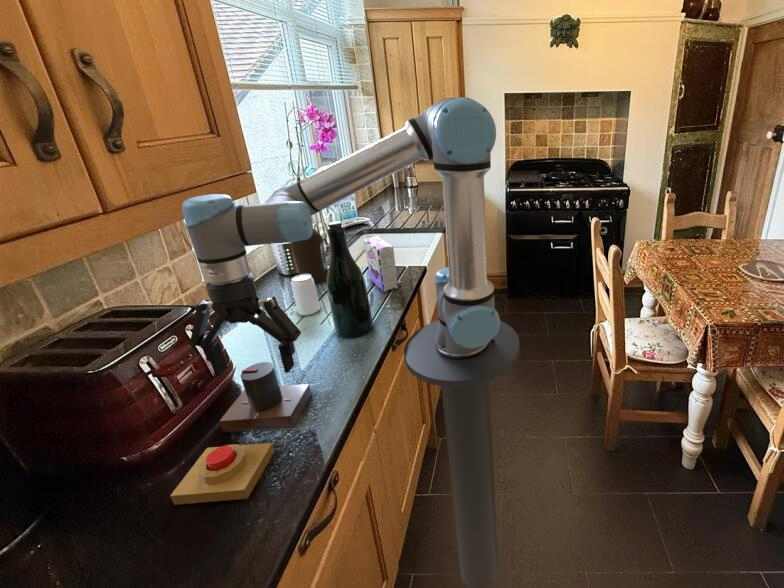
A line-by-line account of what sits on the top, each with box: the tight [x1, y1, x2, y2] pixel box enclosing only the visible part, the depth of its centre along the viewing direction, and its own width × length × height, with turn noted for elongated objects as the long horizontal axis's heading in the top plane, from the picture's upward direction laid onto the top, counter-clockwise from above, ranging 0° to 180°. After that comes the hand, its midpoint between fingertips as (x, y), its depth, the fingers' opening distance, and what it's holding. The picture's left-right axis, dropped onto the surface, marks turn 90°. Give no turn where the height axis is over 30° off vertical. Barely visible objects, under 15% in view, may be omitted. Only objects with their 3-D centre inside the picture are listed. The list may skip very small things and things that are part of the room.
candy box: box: [363, 235, 399, 293], centre depth 145 cm, size 14×6×16 cm, turn 37°
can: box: [290, 273, 321, 317], centre depth 128 cm, size 6×6×12 cm
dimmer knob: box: [240, 361, 282, 411], centre depth 85 cm, size 6×6×8 cm
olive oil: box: [290, 228, 329, 285], centre depth 148 cm, size 11×11×25 cm
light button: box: [206, 444, 236, 471], centre depth 71 cm, size 4×4×2 cm
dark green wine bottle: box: [326, 220, 374, 339], centre depth 113 cm, size 10×10×33 cm
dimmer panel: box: [218, 383, 313, 433], centre depth 87 cm, size 14×10×3 cm
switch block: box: [169, 442, 275, 506], centre depth 72 cm, size 12×10×4 cm
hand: (256, 370), depth 84 cm, fingers open, 13 cm apart
